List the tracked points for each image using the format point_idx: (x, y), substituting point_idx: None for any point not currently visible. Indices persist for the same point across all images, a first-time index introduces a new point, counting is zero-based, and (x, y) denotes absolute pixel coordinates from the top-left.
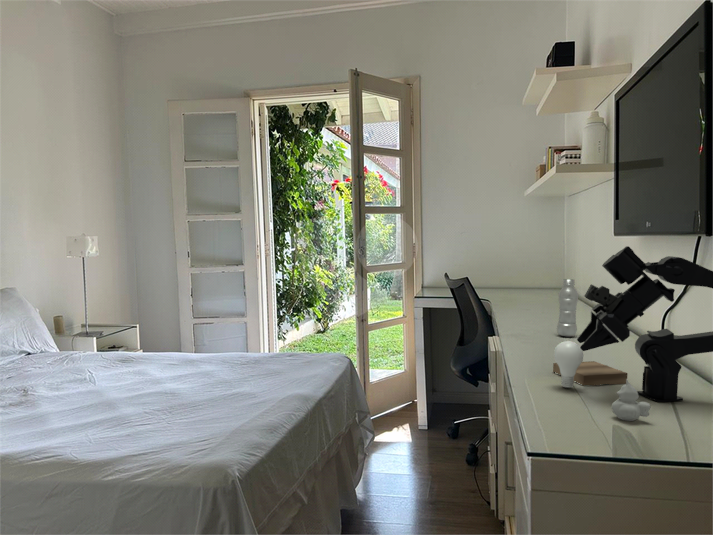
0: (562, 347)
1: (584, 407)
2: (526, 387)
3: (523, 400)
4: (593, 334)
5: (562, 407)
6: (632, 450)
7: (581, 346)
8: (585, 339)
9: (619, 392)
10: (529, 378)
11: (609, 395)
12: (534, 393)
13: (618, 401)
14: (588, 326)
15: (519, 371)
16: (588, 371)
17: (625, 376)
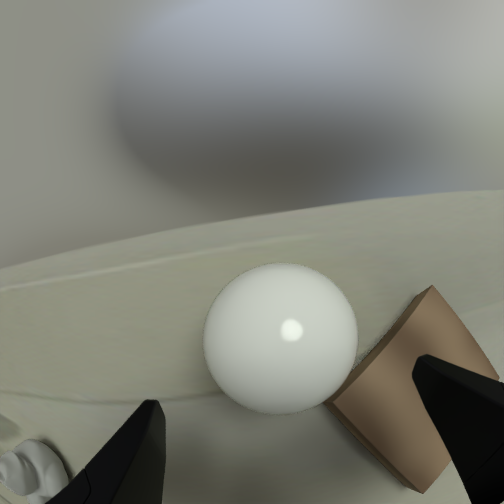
0: (227, 296)
1: (89, 396)
2: (217, 247)
3: (98, 253)
4: (64, 491)
5: (71, 341)
6: None
7: (140, 406)
8: (429, 402)
9: (5, 454)
10: (321, 244)
11: (246, 476)
12: (164, 271)
13: (18, 450)
14: (498, 409)
15: (374, 216)
16: (396, 403)
17: (414, 489)
